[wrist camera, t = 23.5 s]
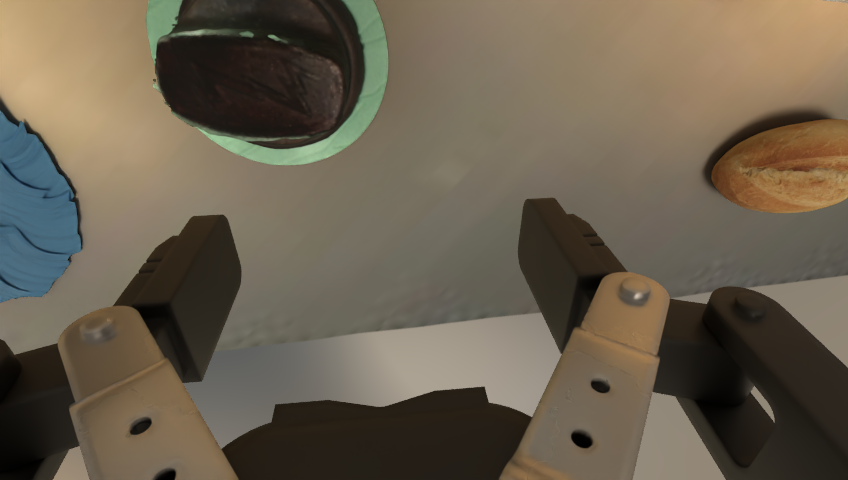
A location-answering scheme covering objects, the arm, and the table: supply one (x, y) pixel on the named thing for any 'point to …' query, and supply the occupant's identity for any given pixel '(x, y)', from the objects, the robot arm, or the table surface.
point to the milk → (845, 0)
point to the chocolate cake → (271, 72)
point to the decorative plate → (32, 216)
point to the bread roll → (787, 168)
